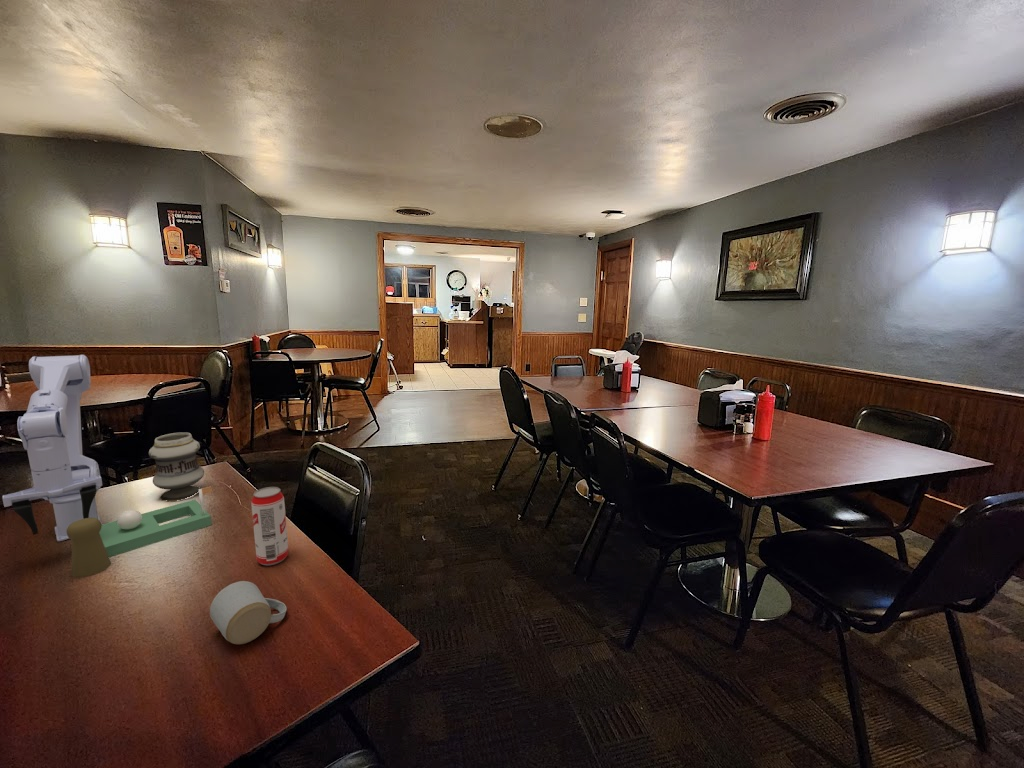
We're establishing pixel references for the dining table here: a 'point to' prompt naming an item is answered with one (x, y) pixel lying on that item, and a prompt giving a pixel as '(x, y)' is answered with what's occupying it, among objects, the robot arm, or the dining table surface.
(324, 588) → the dining table surface
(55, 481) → the robot arm
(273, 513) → the beer can
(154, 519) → the green
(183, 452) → the apothecary jar
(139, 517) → the egg
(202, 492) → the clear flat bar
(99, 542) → the cork
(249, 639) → the ceramic mug
